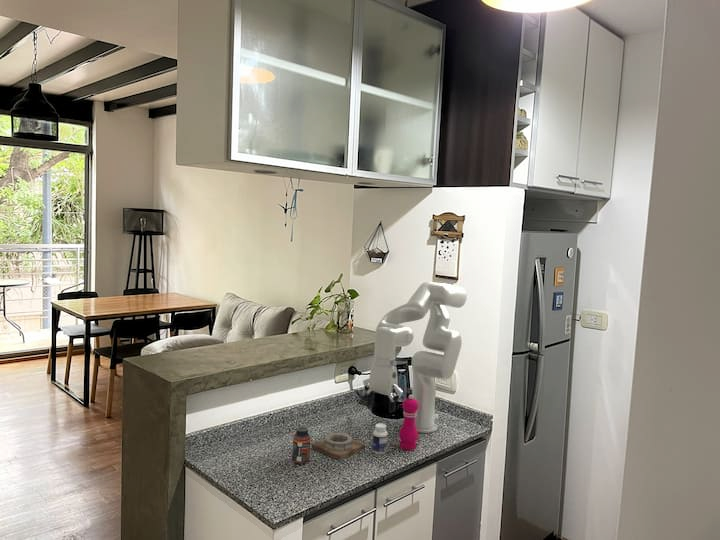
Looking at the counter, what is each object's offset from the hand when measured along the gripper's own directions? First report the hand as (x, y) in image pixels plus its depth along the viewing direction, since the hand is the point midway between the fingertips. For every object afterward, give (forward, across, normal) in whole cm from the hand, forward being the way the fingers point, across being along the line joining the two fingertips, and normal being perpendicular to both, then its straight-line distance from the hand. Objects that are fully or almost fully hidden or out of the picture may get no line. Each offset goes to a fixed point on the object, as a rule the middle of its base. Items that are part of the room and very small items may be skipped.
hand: (381, 408), depth 192 cm
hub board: (+16, +12, +8) cm, 22 cm away
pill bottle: (+16, 0, -1) cm, 16 cm away
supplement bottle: (+17, +14, +25) cm, 33 cm away
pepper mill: (+16, -5, -12) cm, 21 cm away
